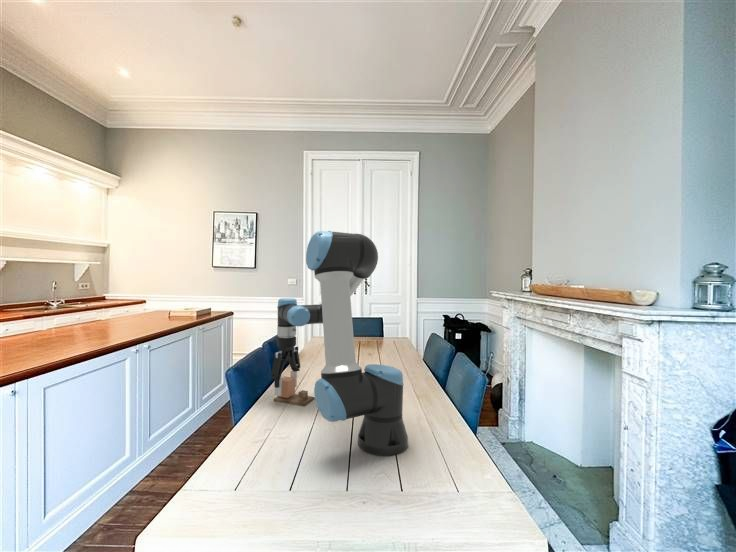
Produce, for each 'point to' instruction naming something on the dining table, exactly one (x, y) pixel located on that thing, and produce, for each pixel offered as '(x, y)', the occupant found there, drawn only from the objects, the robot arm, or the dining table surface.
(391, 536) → the dining table surface
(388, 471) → the dining table surface
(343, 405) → the robot arm
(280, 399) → the peg stand
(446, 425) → the dining table surface
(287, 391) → the tan upright block
